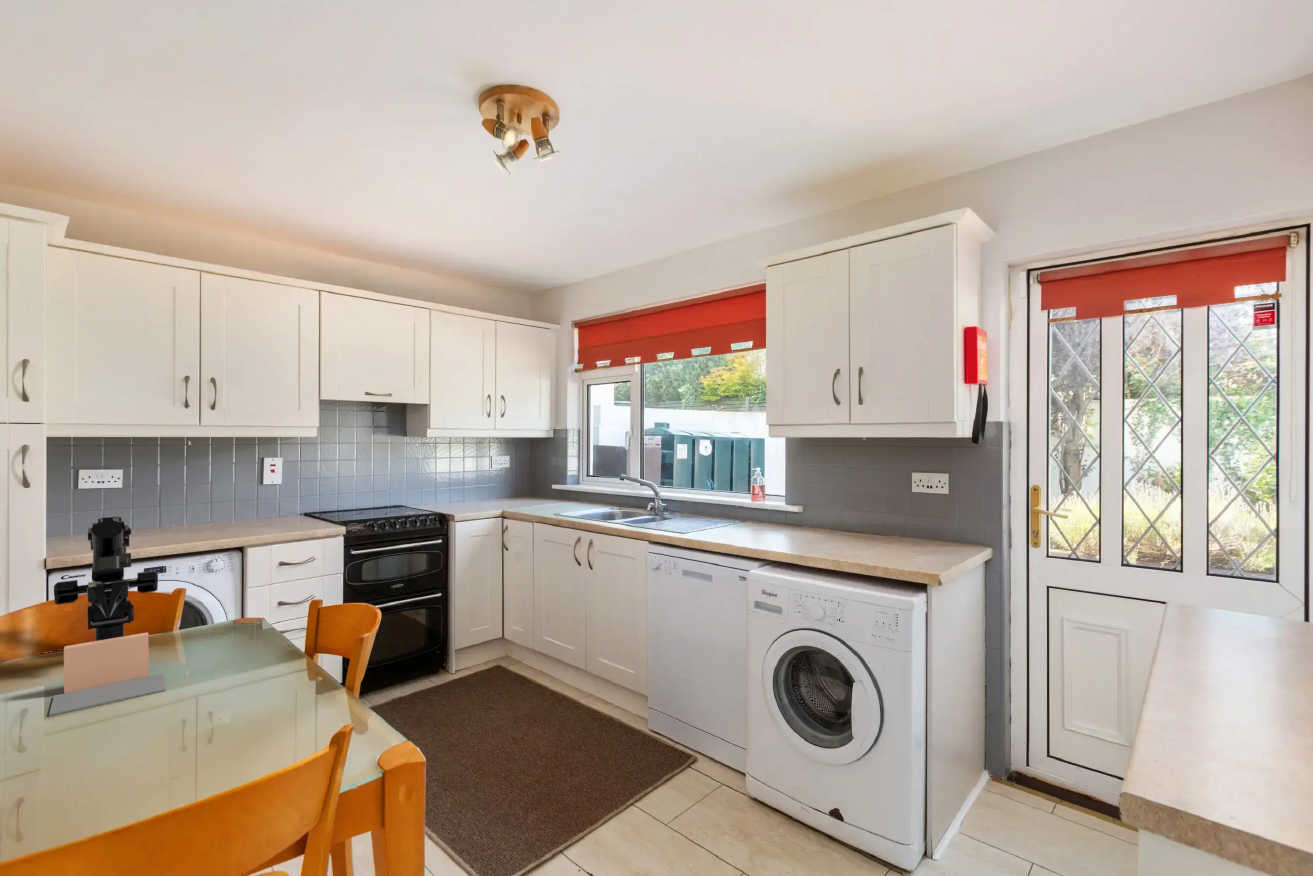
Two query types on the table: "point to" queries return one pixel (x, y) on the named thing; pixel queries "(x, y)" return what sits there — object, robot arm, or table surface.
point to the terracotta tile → (105, 662)
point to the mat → (106, 694)
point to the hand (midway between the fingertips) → (108, 616)
